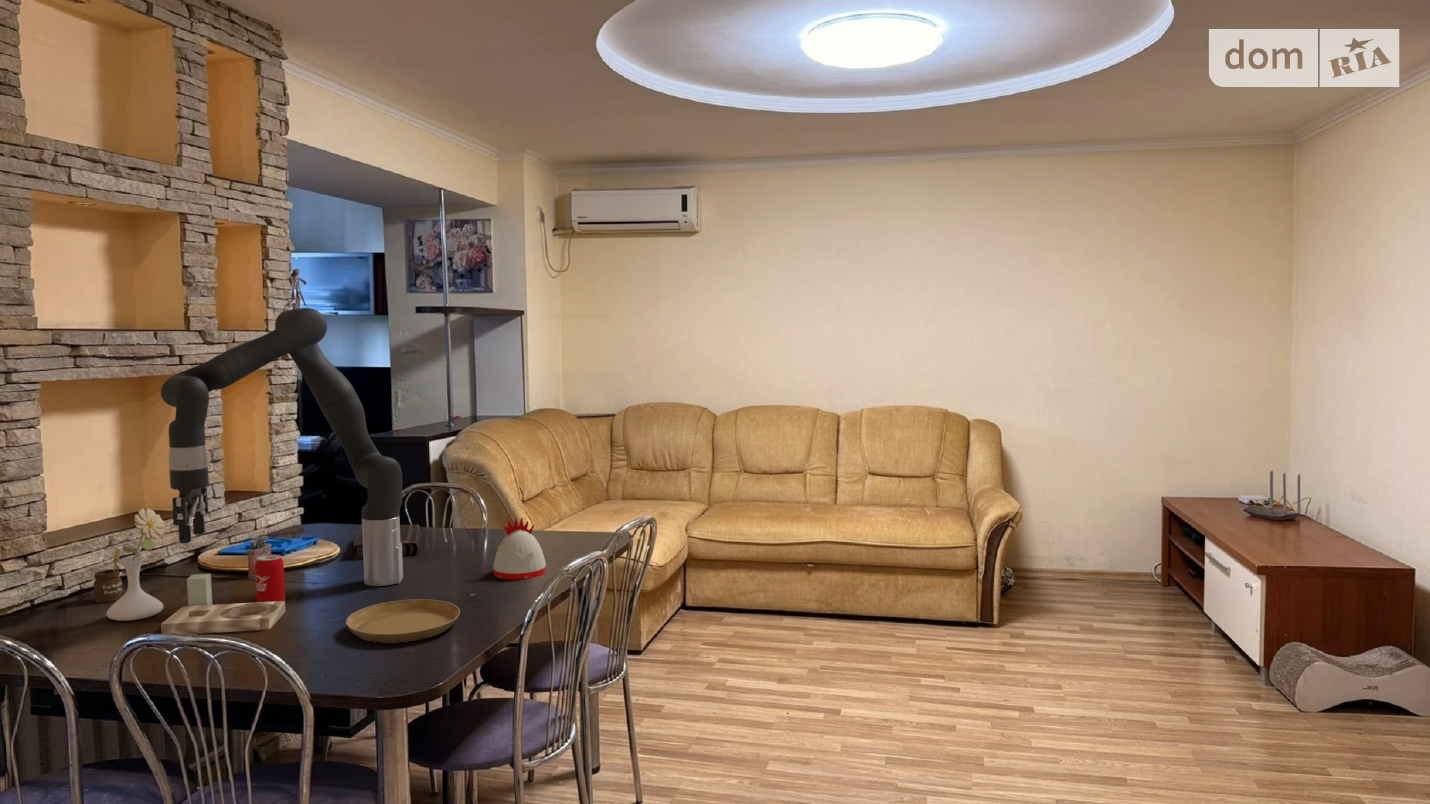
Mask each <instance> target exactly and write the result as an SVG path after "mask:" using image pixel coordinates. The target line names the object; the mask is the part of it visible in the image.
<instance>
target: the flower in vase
mask: <svg viewBox="0 0 1430 804" xmlns="http://www.w3.org/2000/svg"><path fill="white" fill-rule="evenodd" d="M134 522H135V523H134V525H135V527H136V531H137V532H139V534H140V539H139V542H138V546H137V547H136V548H134V547H133V548H131V547H127V546H124V545H122V551H123V552H125V553H126V552H127V553H134V555H133V556H129V557H123V558H121V559H119V562H120V563H121V564H122V565H123V566H124V569H125V572H126V576H127V589H126V592H125V593H124V594H122V597H121V598H120V599H119V600H117V601H114V603H113V604H112V605H111V606H110V607H109V608H108V609H107V612H106V613H105V615H106V617H107V618H108V619H110V620H113V621H117V622H118V621H120V622H122V621H123V622H124V621H125V622H127V621H129V622H130V621H136V620H142V619H143V620H144V619H147V618H150V617H152V616H156V615H157V614H159V613H161V611H163V609H164V604H163V603H162V602H161V601H160V600H159V599H157V598H156V597H155V596H152V595H150V594H148V593H146V592H145V591H144V590H143V589H142V587H141V583H140V569H141V567H142V564H143V562H144V560H145V559H146V557H145V556H140V555H139V556H137V553H138V551H139V549H140V547H141V548H143V549H144V550H146V551H151V550H153V549H154V548H156V547H157V546H158V544H157V542H155V541H153V540H159V539H160V538H161V537H160V536H164V533H166V530H165V528H166V524H165V523H164V520H163V519H162V518H161V515H160V514H156V512H155V511H154V510H153V509H150V508H147V509H146V510H145V509H144V508H141V509H140V510H139V511H138V514H137V513H136V514H135V515H134ZM143 538H144V540H143ZM152 539H153V540H152ZM142 540H143V541H142Z"/></svg>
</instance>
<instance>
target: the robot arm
mask: <svg viewBox="0 0 1430 804" xmlns="http://www.w3.org/2000/svg"><path fill="white" fill-rule="evenodd" d="M327 331H328V324H327V319H326V318H325V316H324V315H323V314H322V313H321V312H320V311H318V310H316V309H315V308H310V307H301V308H300V307H299V308H294V309H293V308H292V309H286V310H284V311H281V312H280V313H279V314H278V315H277V317H276V319H275V321H274V329H273V330H271V331H270V332H268V333H266V334H264V335H261V336H260V337H257V338H254V339H252V340H249V341H246V342H244V343H241V344H239V345H236V346H234V347H231V348H230V349H227V350H225V351H224V352H221V353H219V354H218V355H216V356H214V357H212V358H211V359H209V360H207V361H206V362H204V363H201V364H199V365H196V366H193V367H191V368H188V369H186V370H183V371H181V372H179V373H176V374H174V375H171V376H170V377H169V378H167V380H165V382H163V384H162V386H161V389H160V397H161V399H162V401H164V403H165V404H167V405H168V406H171V407H174V408H175V417H174V420H172V421H171V422H170V423H169V425H168V446H169V449H168V450H169V452H168V469H169V487H170V488H171V489H172V490H175V491H178V497H177V496H176V497H172V524H173V526H176V527H178V542H179V543H180V544H189V543H191V542H192V533H193V534H194V535H195V536H197V535H204V534H205V533H206V526H205V525H206V524H205V517H206V516H207V514H208V513H209V502H208V500H209V499H208V488H207V487H209V484H210V479H209V464H208V463H209V460H208V452H207V446H206V428H205V425H206V421H207V415H208V410H209V405H210V394H209V393H210V392H212V391H216V390H223V389H226V388H229V386H231V385H233V384H235V383H237V382H238V381H240V380H242V379H244V378H246V377H247V376H250V375H251V374H252V373H254V372H255V371H258V370H259V369H261V368H263V367H265V366H266V365H268V364H271V363H273V362H274V361H275V360H278V359H280V358H282V357H284V356H287V355H289V357H290V358H291V359H292V360H293V362H294V363H295V365H296V367H297V368H298V369H299V371H300V373H301V375H302V376H303V379H304V381H305V382H306V385H307V386H308V389H310V391H311V394H312V395H313V396H314V398H315V401H316V402H317V405H318V406H319V408H320V410H321V412H322V414H323V416H324V417H325V419H326V421H327V422H328V425H329V426H330V428H331V430H332V432H333V434H334V435H335V436H336V438H337V440H338V442H339V443H340V445H341V447H342V448H343V450H344V452H345V455H346V456H347V457H346V458H347V459H348V462H349V464H350V468H352V469H351V470H352V471H353V474H354V476H355V479H356V480H357V482H358V483H359V484H360V486H361V487H364V489H367V502H366V504H365V505H364V506H363V507H362V509H361V528H362V531H363V559H362V560H363V581H364V584H365V585H366V586H371V587H382V586H383V587H384V586H390V585H396V584H397V585H398V584H400V583H401V582H402V580H403V579H404V567H403V556H402V543H401V542H400V525H401V524H400V522H401V521H400V510H401V507H402V503H403V472H402V468H401V464H399V462H398V461H397V460H396V459H395V458H393V457H389V456H386V455H382V454H381V452H380V451H379V450H378V449H377V446H376V445H375V443H374V442H373V440H372V439H371V437H370V436H371V435H369V431H368V429H367V428H368V427H367V423H366V422H367V421H366V414H365V409H364V407H363V404H362V402H361V400H360V398H359V396H358V394H357V392H356V390H355V388H354V386H353V385H352V384H351V382H350V381H349V379H347V377H346V376H345V375H344V374H343V373H342V372H341V371H340V370H338V368H337V367H335V366H334V364H333V363H331V361H330V360H329V359H328V358H327V357H326V355H325V354H324V352H323V351H322V349H321V347H320V345H319V344H318V343H319V342H321V340H323V339H324V337H326V336H325V335H326V333H327ZM191 523H192V524H191ZM191 525H192V529H191Z"/></svg>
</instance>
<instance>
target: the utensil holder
mask: <svg viewBox="0 0 1430 804" xmlns="http://www.w3.org/2000/svg"><path fill="white" fill-rule="evenodd" d="M120 554H121V549H120V548H115V551H114V555H113V562H114V564H113V565H114V566H113V569H103V570H102V569H101V570H100V569H99V566H98V565H100V567H104V565H106V564H105V561H104V559H102V558H101V557H96V558H94V560H92V562H94V564H92V566H93V568H94V570H95V573H94V579H95V580H94V582H93V596H94V597H93V598H94V601H95V602H96V603H98V604H99V603H102V604H103V603H104V604H105V603H112V602H116V601H118V600H119V599H120V598H121V597H122V596H123V581H122V578H121V577H120V573H121V572H120V570H119V569H116V567H117V563H118V562H120V556H121V555H120ZM95 560H98V561H99V562H96V561H95ZM101 560H102V561H101ZM98 563H100V564H98ZM101 565H102V566H101ZM97 569H99V570H97Z"/></svg>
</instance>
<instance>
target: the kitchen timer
mask: <svg viewBox="0 0 1430 804" xmlns="http://www.w3.org/2000/svg"><path fill="white" fill-rule="evenodd" d="M502 526H503V528H504V530H505V532H506V536H505V537H504V538H503V539H502V541H501V543H499V546H498V547H497V548H496V553H495V559H494V561H493V576H494V577H496V578H499V579H501V580H504V579H505V580H527V579H533V578H537V577H540V576H543V575H544V574H545V573H546V572H547V565H546V564H547V563H546V559H545V555H544V553H543V550H542V547H541V545H540V544H539V542H538V540H537V538H536V537H535V536H534V535H533V534H532V532H533V530H534V527H535V526H534V525H531V527H530V528H529V529H528V526H529V521H526V522H525V524H524V521H523V518H522V517H521V518H520V520H519V525H518V520H517V518H516V517H515V518H514V523H513V526H512V523H511V520H510V519H509V518H508V519H507V526H506V525H505V524H503V523H502Z"/></svg>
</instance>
